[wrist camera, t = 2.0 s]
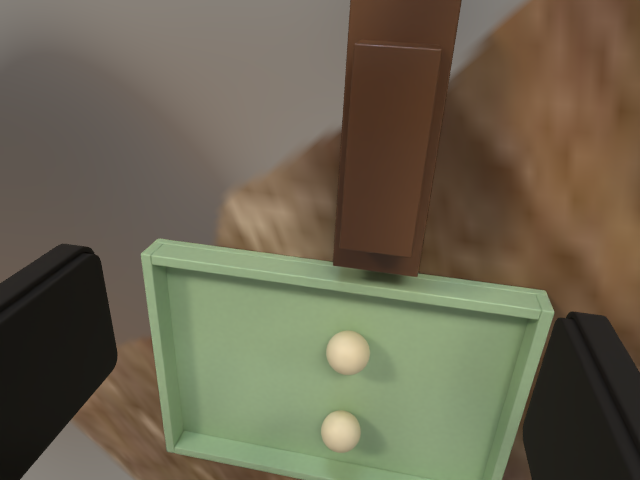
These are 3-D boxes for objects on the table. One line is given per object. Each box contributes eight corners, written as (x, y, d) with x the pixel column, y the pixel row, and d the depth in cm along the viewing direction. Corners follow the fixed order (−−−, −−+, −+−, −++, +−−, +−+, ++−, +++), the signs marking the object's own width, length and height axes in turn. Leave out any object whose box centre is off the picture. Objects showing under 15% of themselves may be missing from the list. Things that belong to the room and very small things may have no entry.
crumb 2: (364, 405, 30) (359, 436, 28) (361, 433, 31) (356, 465, 29) (325, 398, 30) (318, 428, 28) (324, 426, 31) (316, 457, 29)
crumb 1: (373, 325, 27) (369, 352, 25) (369, 359, 28) (365, 388, 26) (331, 318, 27) (323, 345, 25) (329, 352, 28) (321, 380, 26)
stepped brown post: (458, -13, 20) (468, -18, 15) (418, 248, 25) (417, 301, 21) (361, -18, 20) (343, -24, 16) (341, 239, 26) (325, 287, 21)
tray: (545, 290, 25) (555, 311, 23) (486, 489, 31) (490, 518, 30) (158, 237, 28) (140, 253, 26) (179, 429, 35) (166, 452, 33)
